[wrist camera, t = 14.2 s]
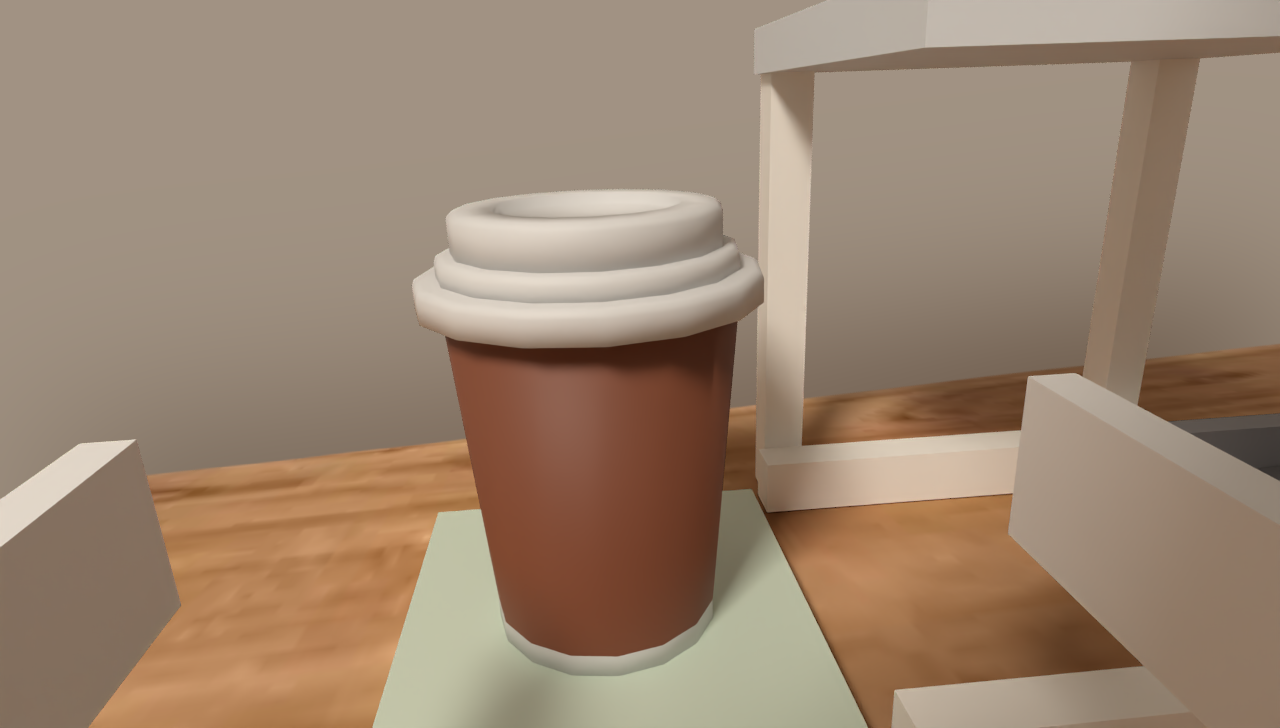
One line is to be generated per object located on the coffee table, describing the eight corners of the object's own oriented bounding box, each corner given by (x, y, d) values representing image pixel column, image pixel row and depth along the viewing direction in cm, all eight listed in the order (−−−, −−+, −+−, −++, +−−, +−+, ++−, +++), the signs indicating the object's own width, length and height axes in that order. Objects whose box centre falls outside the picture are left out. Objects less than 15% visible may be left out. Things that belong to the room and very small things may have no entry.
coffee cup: (592, 502, 30) (572, 180, 26) (812, 581, 24) (829, 191, 21) (389, 627, 23) (323, 216, 19) (634, 774, 18) (609, 246, 14)
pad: (751, 507, 31) (751, 488, 30) (876, 776, 18) (878, 749, 18) (441, 530, 30) (438, 512, 29) (354, 831, 17) (348, 803, 17)
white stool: (1108, 450, 34) (1183, 16, 29) (1563, 739, 19) (1919, -89, 13) (749, 477, 33) (754, 29, 27) (915, 810, 17) (1004, -70, 12)
